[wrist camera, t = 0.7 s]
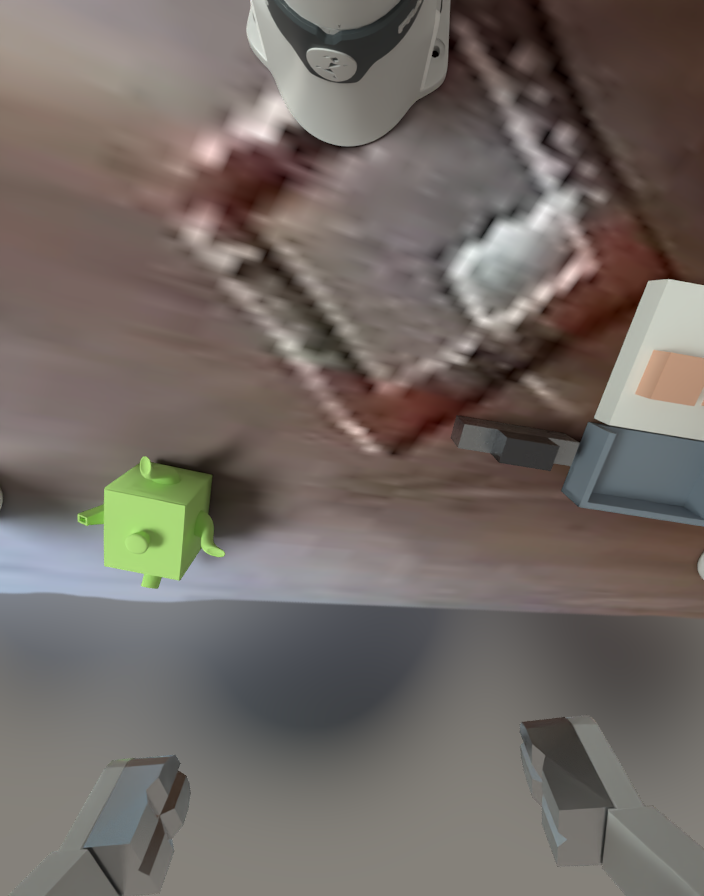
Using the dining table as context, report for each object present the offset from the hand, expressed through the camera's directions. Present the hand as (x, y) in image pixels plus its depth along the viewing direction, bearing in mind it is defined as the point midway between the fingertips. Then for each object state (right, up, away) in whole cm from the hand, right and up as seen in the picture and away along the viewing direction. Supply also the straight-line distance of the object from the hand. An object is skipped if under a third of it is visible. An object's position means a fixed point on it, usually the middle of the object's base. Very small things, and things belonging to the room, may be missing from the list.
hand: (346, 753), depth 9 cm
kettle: (-23, 0, +44) cm, 50 cm away
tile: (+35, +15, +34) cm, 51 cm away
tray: (+37, +5, +41) cm, 56 cm away
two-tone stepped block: (+20, +9, +40) cm, 46 cm away
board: (+40, +17, +36) cm, 57 cm away
